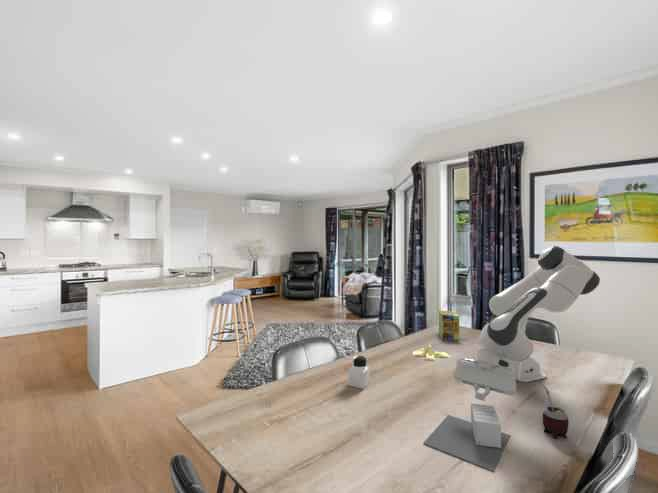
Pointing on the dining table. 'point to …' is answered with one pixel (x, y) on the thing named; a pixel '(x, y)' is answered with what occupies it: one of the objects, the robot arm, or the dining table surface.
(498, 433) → the supplement box
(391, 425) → the dining table surface
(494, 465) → the mat
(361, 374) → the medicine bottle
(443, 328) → the protein box
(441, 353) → the banana bunch
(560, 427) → the mate gourd
